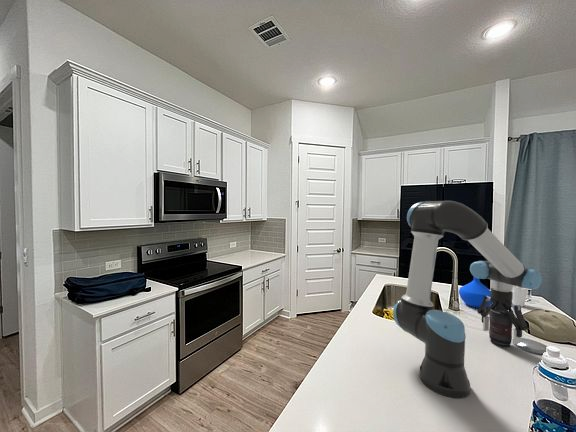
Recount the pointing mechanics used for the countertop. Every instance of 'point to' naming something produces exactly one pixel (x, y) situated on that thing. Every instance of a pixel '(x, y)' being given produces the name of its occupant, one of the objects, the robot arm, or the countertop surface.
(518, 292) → the cup
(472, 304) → the vase
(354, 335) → the countertop surface
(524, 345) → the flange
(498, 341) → the camera lens
